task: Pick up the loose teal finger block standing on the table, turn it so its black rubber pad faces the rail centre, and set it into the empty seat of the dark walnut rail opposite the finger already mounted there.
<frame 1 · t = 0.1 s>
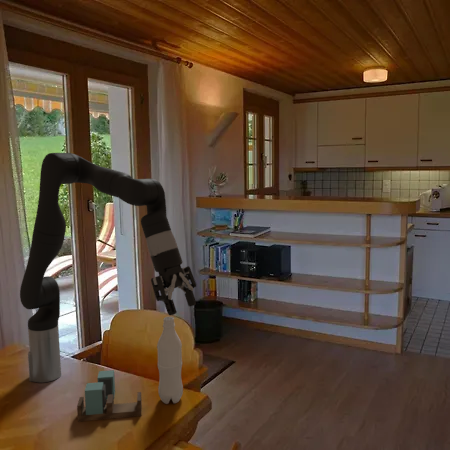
hand: (183, 310, 123), 31 cm above the table, tool tilted 20°, fingers open, 8 cm apart
rail: (110, 413, 132), on the table
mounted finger: (95, 410, 132), resting on rail
loose finger: (106, 395, 143), on the table
water bottle: (171, 400, 140), on the table
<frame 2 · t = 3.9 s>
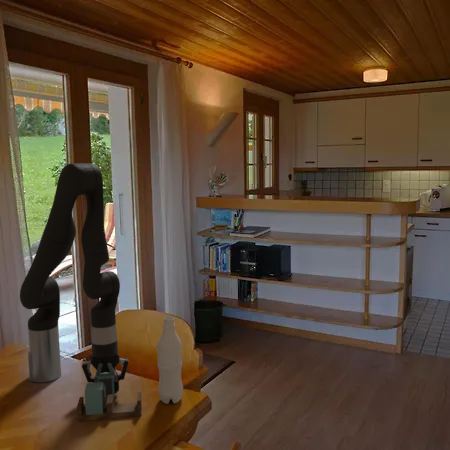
hand: (106, 393, 143), 1 cm above the table, tool pointing down, fingers closed on loose finger, 4 cm apart
loose finger: (107, 395, 143), on the table, touching gripper
everything else where it was.
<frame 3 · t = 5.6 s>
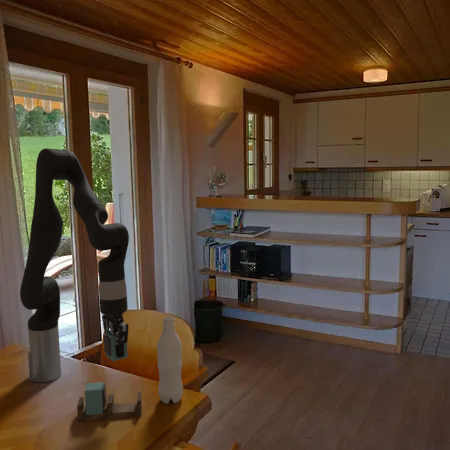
hand: (116, 353, 134), 16 cm above the table, tool pointing down, fingers closed on loose finger, 4 cm apart
loose finger: (116, 356, 134), point 15 cm above the table, touching gripper
everything else where it was.
when the fingers open (4 cm above the table, at t = 7.7 s): loose finger drops 1 cm, resting on rail.
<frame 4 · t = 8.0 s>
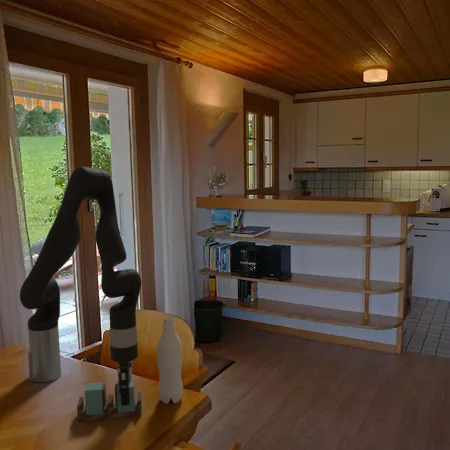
hand: (126, 398, 133), 4 cm above the table, tool pointing down, fingers open, 6 cm apart
loose finger: (126, 407, 133), point 1 cm above the table, touching rail
everything else where it was.
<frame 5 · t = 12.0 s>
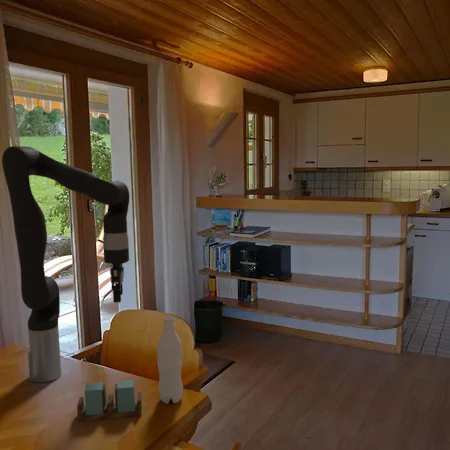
hand: (118, 298, 147), 28 cm above the table, tool pointing down, fingers open, 8 cm apart
nothing on the table moved.
at the end: loose finger 0.1 cm from the target spot on the rail, point 1.5 cm above the rail's base; loose finger tilted 0°; the gripper is holding nothing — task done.
